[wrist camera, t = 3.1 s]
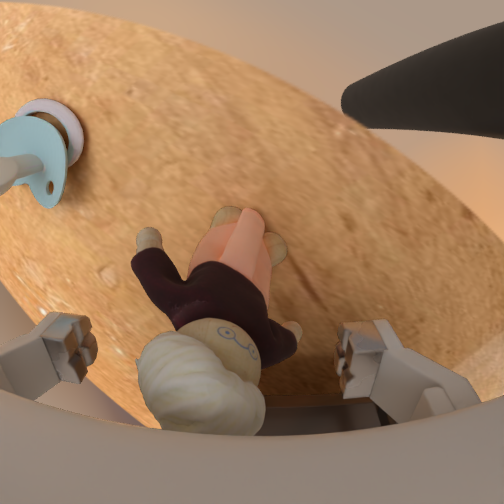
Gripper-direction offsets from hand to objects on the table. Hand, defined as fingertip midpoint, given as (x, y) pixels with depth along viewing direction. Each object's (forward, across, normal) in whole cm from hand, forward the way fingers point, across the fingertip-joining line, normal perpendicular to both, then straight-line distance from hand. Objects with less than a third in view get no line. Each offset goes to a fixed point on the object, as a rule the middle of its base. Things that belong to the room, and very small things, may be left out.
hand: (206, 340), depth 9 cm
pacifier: (+9, +12, -7) cm, 16 cm away
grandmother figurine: (+9, 0, 0) cm, 9 cm away
